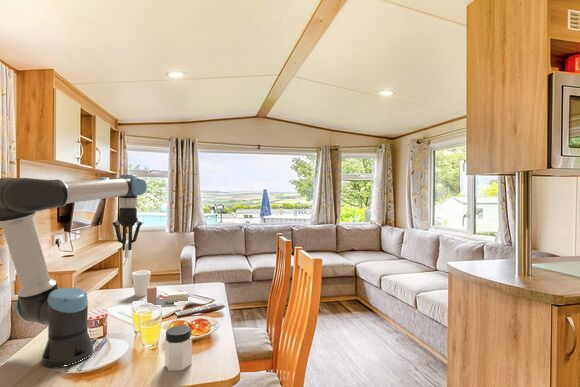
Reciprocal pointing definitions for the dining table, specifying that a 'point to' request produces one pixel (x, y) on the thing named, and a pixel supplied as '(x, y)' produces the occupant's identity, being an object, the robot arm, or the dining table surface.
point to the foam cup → (141, 282)
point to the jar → (178, 348)
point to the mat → (165, 302)
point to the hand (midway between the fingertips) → (126, 257)
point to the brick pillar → (152, 294)
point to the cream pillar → (177, 297)
